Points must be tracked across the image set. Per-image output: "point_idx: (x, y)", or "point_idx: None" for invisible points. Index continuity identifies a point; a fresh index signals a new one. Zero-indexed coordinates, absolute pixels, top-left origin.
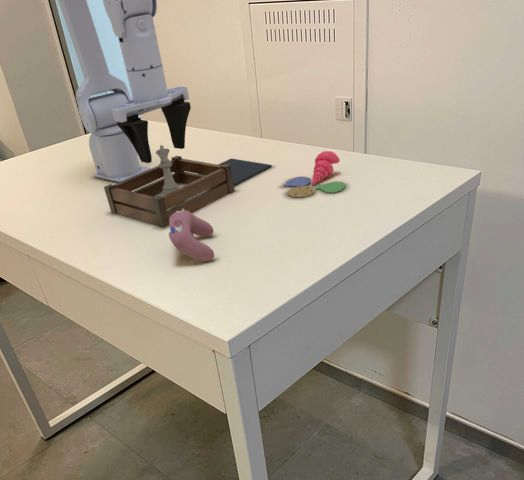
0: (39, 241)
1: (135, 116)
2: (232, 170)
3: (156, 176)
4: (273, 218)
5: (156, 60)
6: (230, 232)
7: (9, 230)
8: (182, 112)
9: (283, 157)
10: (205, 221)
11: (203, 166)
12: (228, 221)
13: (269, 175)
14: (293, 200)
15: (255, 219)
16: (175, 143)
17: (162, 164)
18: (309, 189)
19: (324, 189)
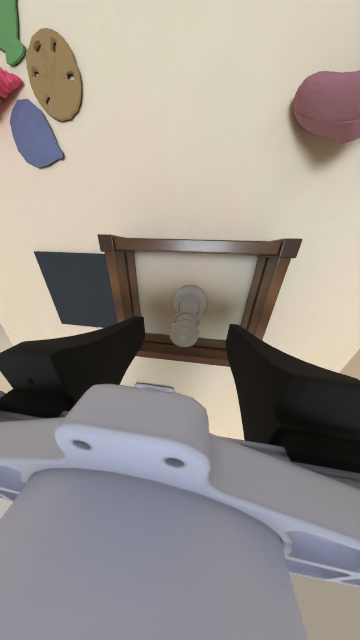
0: (332, 368)
1: (314, 448)
2: (82, 294)
3: (171, 347)
4: (177, 13)
5: None
6: (269, 71)
7: None
8: (74, 344)
9: (7, 261)
10: (322, 75)
11: (123, 296)
12: (222, 135)
13: (55, 229)
14: (89, 61)
15: (196, 69)
16: (141, 336)
17: (195, 322)
18: (36, 57)
19: (10, 5)
